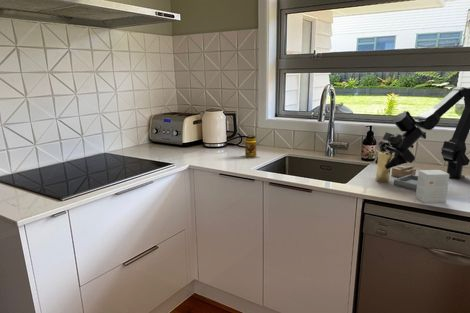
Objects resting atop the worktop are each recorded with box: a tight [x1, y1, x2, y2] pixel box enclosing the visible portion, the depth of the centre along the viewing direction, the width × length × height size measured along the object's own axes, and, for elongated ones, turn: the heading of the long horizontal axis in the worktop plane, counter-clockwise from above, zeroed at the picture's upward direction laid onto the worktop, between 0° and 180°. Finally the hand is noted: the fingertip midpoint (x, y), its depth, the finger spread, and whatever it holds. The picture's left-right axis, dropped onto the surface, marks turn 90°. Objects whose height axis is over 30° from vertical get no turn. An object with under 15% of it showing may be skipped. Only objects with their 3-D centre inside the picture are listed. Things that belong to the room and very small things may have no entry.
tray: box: [393, 174, 418, 191], centre depth 136 cm, size 12×12×2 cm
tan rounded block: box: [390, 164, 417, 178], centre depth 148 cm, size 9×7×5 cm
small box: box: [415, 169, 450, 204], centre depth 119 cm, size 8×6×10 cm
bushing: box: [375, 151, 393, 184], centre depth 141 cm, size 5×5×12 cm
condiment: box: [241, 134, 259, 160], centre depth 185 cm, size 7×8×12 cm
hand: (380, 165), depth 141 cm, fingers open, 8 cm apart
